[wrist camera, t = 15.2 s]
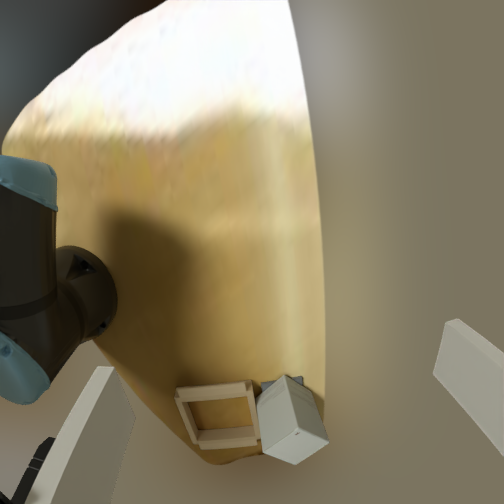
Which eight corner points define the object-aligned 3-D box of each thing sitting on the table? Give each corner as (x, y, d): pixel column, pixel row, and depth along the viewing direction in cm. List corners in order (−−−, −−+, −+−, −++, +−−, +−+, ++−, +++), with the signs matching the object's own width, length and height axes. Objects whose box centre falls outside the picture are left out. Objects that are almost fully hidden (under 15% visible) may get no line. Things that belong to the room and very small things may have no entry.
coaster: (265, 409, 49) (265, 411, 48) (260, 382, 47) (261, 384, 46) (302, 403, 49) (303, 405, 48) (301, 375, 47) (302, 377, 47)
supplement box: (253, 398, 47) (260, 452, 35) (284, 373, 46) (299, 427, 34) (282, 414, 49) (294, 466, 37) (312, 391, 48) (331, 442, 36)
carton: (196, 439, 50) (196, 450, 47) (173, 378, 46) (170, 389, 43) (261, 433, 50) (262, 444, 48) (249, 370, 46) (250, 381, 43)
